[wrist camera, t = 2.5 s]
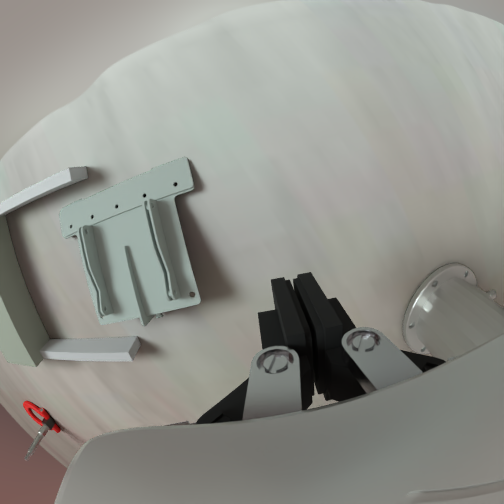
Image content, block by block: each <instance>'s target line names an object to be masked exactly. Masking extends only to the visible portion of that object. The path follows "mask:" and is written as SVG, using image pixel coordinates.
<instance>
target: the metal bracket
mask: <svg viewBox="0 0 504 504" xmlns="http://www.w3.org/2000/svg"><path fill="white" fill-rule="evenodd" d="M175 183H177V186H176V187H175V186H174V184H175ZM193 189H194V182H193V178H192V173H191V169H190V165H189V161H188V159H187V158H186V157H183V158H180V159H177V160H174V161H171V162H168V163H166V164H163V165H160V166H157V167H155V168H152V169H151V170H150V171H148V172H145V173H143V174H140V175H138V176H136V177H133V178H131V179H128V180H126V181H124V182H121V183H119V184H117V185H114V186H112V187H110V188H108V189H105V190H103V191H101V192H99V193H97V194H95V195H92V196H90V197H88V198H86V199H84V200H82V199H80V200H78V201H76V202H74V203H72V204H70V205H68V206H66V207H64V208H62V210H61V211H60V214H59V217H60V224H61V231H62V236H63V237H64V238H65V239H67V238H70V237H72V236H74V235H76V236H77V238H78V243H79V248H80V253H81V258H82V262H83V266H84V271H85V275H86V279H87V283H88V286H89V290H90V294H91V297H92V301H93V304H94V307H95V310H96V314H97V317H98V320H99V323H100V324H101V325H105V324H110V323H115V322H120V321H125V320H130V319H135V318H139V317H140V320H141V323H142V326H146V325H147V324H148V323H149V322H150V320H151V319H152V318H153V317H154V315H156V318H160V317H163V316H164V315H162V312H167V311H171V310H176V309H180V308H184V307H189V306H193V305H197V304H199V303H200V302H201V298H200V294H199V291H198V287H197V284H196V281H195V277H194V273H193V270H192V266H191V263H190V259H189V255H188V252H187V248H186V244H185V240H184V236H183V232H182V228H181V224H180V220H179V216H178V212H177V208H176V204H175V197H176V196H178V195H180V194H183V193H186V192H189V191H192V190H193ZM144 194H146V197H145V198H144V197H143V195H144ZM116 205H118V208H116ZM92 215H93V216H94V218H93V219H92ZM71 225H72V228H71ZM190 292H194V293H195V297H191V296H190ZM103 316H104V317H103ZM102 317H103V318H102Z"/></svg>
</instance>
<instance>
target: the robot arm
mask: <svg viewBox="0 0 504 504" xmlns="http://www.w3.org/2000/svg"><path fill="white" fill-rule="evenodd" d="M293 284H294V289H293V287H292V284H291V282H290V280H285V279H284V277H283V278H277V279H272V280H271V285H272V291H273V298H274V304H275V310H271V311H265V312H260V313H258V318H259V325H260V333H261V341H262V348H263V350H261V351H260V352H258V353H257V354H256V355H255V356H254V357H253V360H252V362H251V369H250V375H249V378H248V379H247V380H246V381H244V382H243V383H242V384H241V385H240V386H238V387H237V388H236V389H235V390H234V391H232V392H231V393H230V394H229V395H227V396H226V397H225V398H224V399H223V400H221V401H220V402H219V403H217V404H216V405H215V406H214V407H212V408H211V409H210V410H209V411H207V412H206V413H205V414H203V415H202V416H201V417H200V418H199V419H198V421H197V422H196V423H191V424H190V423H189V421H185V422H180V423H175V424H170V425H165V426H149V427H136V428H129V429H122V430H117V431H113V432H109V433H105V434H102V435H99V436H96V437H94V438H92V439H90V440H88V441H87V442H85V443H84V444H83V445H82V446H81V448H80V449H79V450H78V452H77V453H76V455H75V456H74V458H73V460H72V461H71V463H70V465H69V467H68V469H67V471H66V474H65V476H64V478H63V481H62V483H61V486H60V489H59V492H58V494H57V497H56V501H55V503H54V504H504V308H503V307H502V306H500V305H499V304H498V303H496V302H495V301H494V299H495V298H496V291H495V290H493V289H492V290H490V291H488V292H484V291H483V290H481V289H480V288H478V287H477V280H476V277H475V275H474V273H473V272H472V271H471V270H470V269H469V268H468V267H466V266H464V265H462V264H459V263H451V264H448V265H445V266H443V267H441V268H439V269H437V270H436V271H435V272H433V273H432V274H431V275H430V276H429V277H428V278H427V279H426V280H425V281H424V282H423V283H422V284H421V286H420V287H419V288H418V289H417V291H416V293H415V294H414V296H413V297H412V299H411V301H410V303H409V305H408V307H407V310H406V313H405V316H404V322H403V336H404V340H405V341H406V343H407V345H408V346H409V347H410V348H411V350H413V351H414V352H416V353H419V354H416V353H412V352H407V351H403V350H399V349H398V348H397V347H396V346H395V345H394V344H393V343H392V342H391V341H390V340H389V339H388V338H387V337H386V336H385V335H384V334H383V333H381V332H380V331H378V330H376V329H374V328H369V327H359V328H356V327H355V325H354V324H353V322H352V321H351V319H350V318H349V316H348V315H347V313H346V312H345V310H344V309H343V307H342V306H341V304H340V303H339V301H338V300H337V298H331V299H327V298H326V296H325V294H324V293H323V291H322V289H321V288H320V286H319V285H318V283H317V281H316V280H315V278H314V277H313V275H312V273H311V272H309V273H304V274H299V275H298V276H297V278H296V279H293ZM429 353H431V354H432V356H433V357H431V356H426V355H421V354H429ZM314 383H315V386H316V389H317V392H318V394H322V393H323V394H324V397H325V400H326V401H328V400H332V399H333V400H336V401H339V402H337V403H333V404H329V405H325V406H321V407H317V408H312V409H308V410H307V408H308V407H309V406H310V405H311V404H312V396H313V395H314Z"/></svg>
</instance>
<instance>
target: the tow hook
mask: <svg viewBox="0 0 504 504" xmlns="http://www.w3.org/2000/svg"><path fill="white" fill-rule="evenodd" d="M23 406H24V408H25V410H26V411H27V413H28V414H29V415H30V416H31V417H32V418H33V419H34V420H35V421H36V422H37V423H38V424H40V425H41V426H42V427H41V428H40V430H39V431H38V435H37V436H36V438H35V440H34V441H33V443H32V445H31V446H30V448H29V450H28V453H27V455H26V457H25V460H27V461H28V460H29V458H30V456H31V454H33V453H34V451H35V450H36V448H37V446H38V445H39V443H40V441H41V440H42V438H43V437H45V435H46V433H47V432H48V430H55V431H56V432H57V433H59V432H60V431H61V429H60V428H59V427H58V426H57V425H56V423H55V421H54V420H53V419H52V418H51V416H50V415H48V413H47V412H46V411H45V409H44V408H38V407H37V406H36V405H34V404H33V403H31V402H29V401H25V402H24V403H23ZM30 408H31V409H33V410H35V411H36V412H37V413H38V414H40V415H41V416H43V417H44V419H43V421H41V420H40V419H38V418H37V417H36V416H35V415H34V414H33V413H32V411H31V410H30Z"/></svg>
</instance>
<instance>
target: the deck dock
mask: <svg viewBox="0 0 504 504" xmlns="http://www.w3.org/2000/svg"><path fill="white" fill-rule="evenodd" d="M87 178H88V175H87V169H86V166H84V167H72V168H67V169H65V170H63V171H61V172H58V173H56V174H54V175H52V176H50V177H48V178H46V179H44V180H42V181H40V182H38V183H36V184H34V185H32V186H30V187H28V188H26V189H24V190H22V191H20V192H18V193H17V194H15V195H13V196H11V197H10V198H8V199H6V200H4V201H3V202H1V203H0V350H1V352H2V354H3V355H4V357H5V359H6V360H7V362H8V363H13V364H19V365H25V366H32V367H37V366H38V365H39V363H40V362H41V361H42V360H43V359H44V358H45V359H58V360H76V361H133V359H134V357H135V355H136V353H137V351H138V349H139V347H140V345H141V344H140V342H139V340H138V337H137V336H134V337H118V338H94V339H50V338H49V336H48V334H47V332H46V330H45V328H44V326H43V324H42V322H41V319H40V317H39V315H38V313H37V311H36V308H35V306H34V304H33V301H32V299H31V296H30V294H29V291H28V289H27V286H26V284H25V281H24V278H23V275H22V273H21V270H20V267H19V264H18V261H17V258H16V254H15V251H14V248H13V244H12V240H11V237H10V233H9V229H8V225H7V220H6V216H5V215H6V214H8V213H10V212H12V211H14V210H16V209H18V208H20V207H22V206H24V205H26V204H28V203H30V202H32V201H34V200H36V199H39V198H41V197H43V196H45V195H47V194H50V193H52V192H54V191H57V190H59V189H62V188H64V187H66V186H69V185H71V184H74V183H76V182H79V181H82V180H84V179H87Z"/></svg>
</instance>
